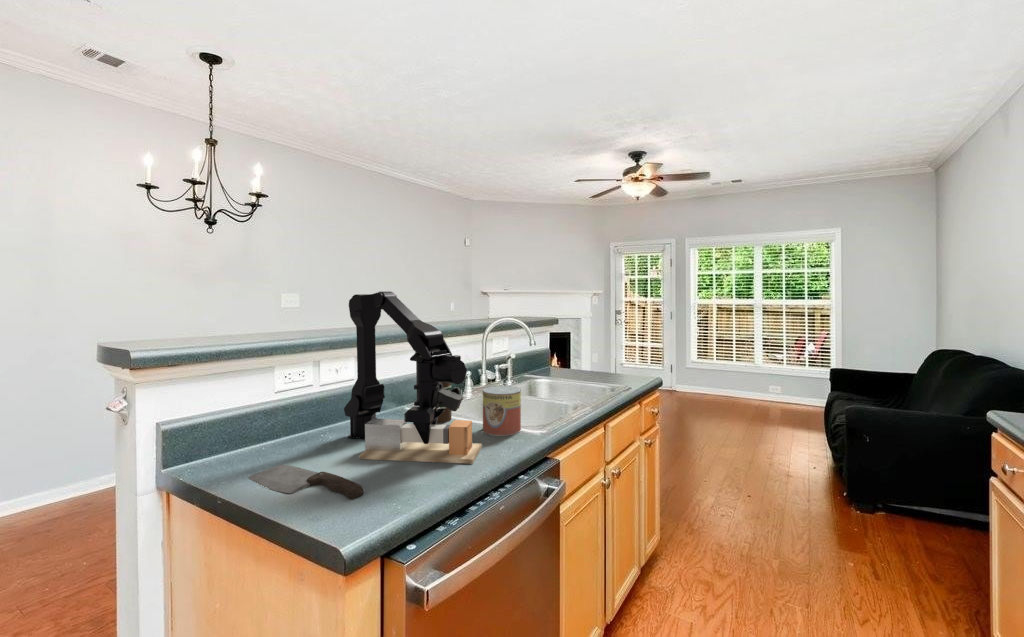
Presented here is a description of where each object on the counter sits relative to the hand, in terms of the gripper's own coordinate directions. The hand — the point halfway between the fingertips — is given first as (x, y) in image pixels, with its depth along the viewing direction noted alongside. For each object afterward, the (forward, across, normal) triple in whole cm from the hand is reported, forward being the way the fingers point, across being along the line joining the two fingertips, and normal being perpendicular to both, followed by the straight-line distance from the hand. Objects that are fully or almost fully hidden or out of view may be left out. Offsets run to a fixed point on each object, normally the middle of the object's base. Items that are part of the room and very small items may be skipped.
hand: (428, 441), depth 121 cm
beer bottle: (+3, +31, +6) cm, 31 cm away
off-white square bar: (0, 0, +4) cm, 4 cm away
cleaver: (+4, -22, +20) cm, 30 cm away
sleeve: (+3, 0, +11) cm, 11 cm away
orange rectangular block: (+2, 0, -8) cm, 8 cm away
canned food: (+3, +22, -16) cm, 27 cm away
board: (+3, 0, +2) cm, 3 cm away
